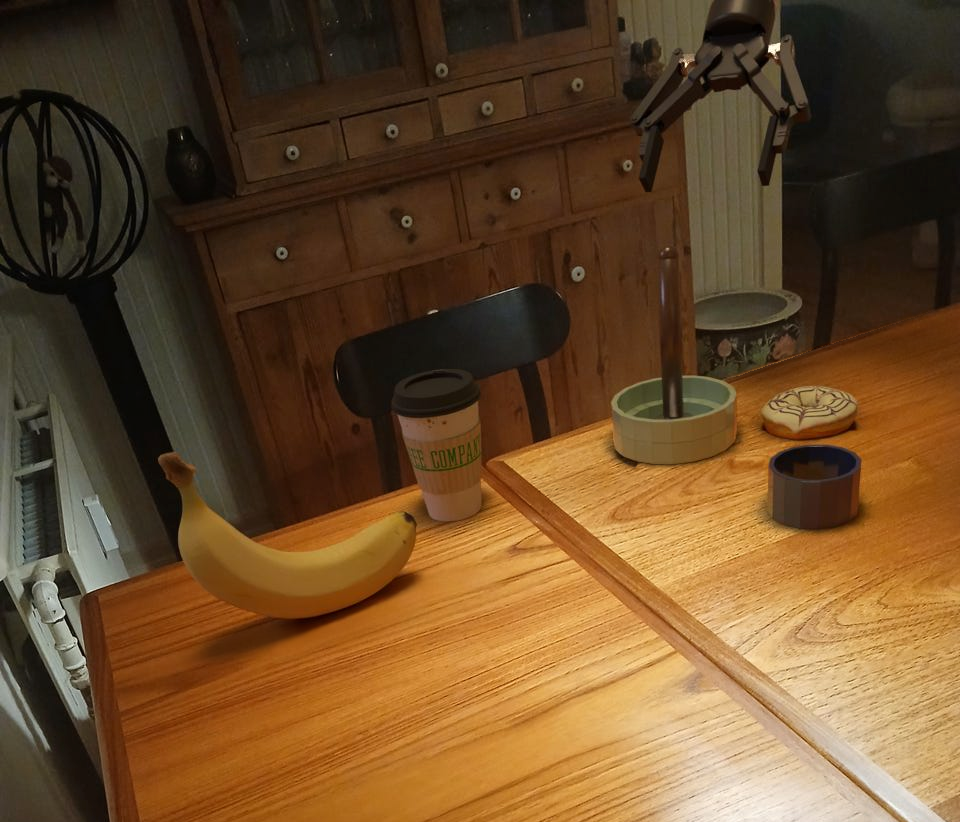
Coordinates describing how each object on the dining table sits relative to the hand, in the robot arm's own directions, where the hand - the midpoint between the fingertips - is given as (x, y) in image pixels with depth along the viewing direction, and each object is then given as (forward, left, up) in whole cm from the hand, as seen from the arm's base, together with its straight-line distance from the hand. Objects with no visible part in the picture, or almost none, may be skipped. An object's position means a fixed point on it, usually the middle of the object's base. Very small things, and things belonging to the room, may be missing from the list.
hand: (702, 182), depth 110 cm
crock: (-15, +27, -27) cm, 41 cm away
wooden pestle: (+2, +9, -27) cm, 28 cm away
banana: (+30, +49, -28) cm, 64 cm away
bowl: (+2, +9, -27) cm, 29 cm away
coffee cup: (+24, +27, -28) cm, 46 cm away
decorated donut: (-13, +4, -28) cm, 31 cm away
